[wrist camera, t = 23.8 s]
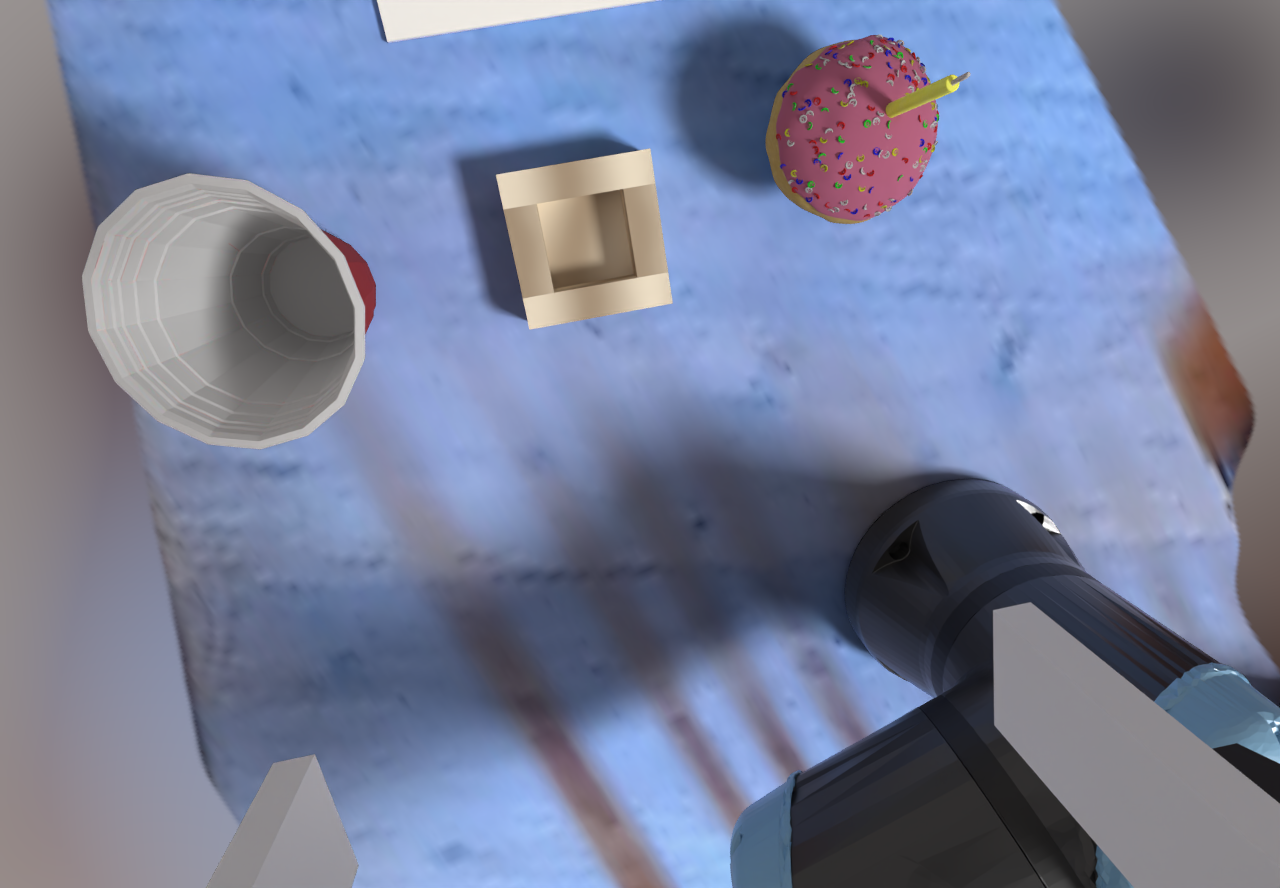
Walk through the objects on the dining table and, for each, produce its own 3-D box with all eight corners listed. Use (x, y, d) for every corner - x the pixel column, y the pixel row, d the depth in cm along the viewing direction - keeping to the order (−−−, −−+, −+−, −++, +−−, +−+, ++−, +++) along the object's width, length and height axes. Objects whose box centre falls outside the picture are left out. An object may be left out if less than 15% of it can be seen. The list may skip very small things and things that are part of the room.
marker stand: (644, 151, 38) (650, 148, 36) (665, 297, 41) (672, 303, 39) (499, 176, 38) (495, 174, 35) (530, 322, 40) (529, 329, 38)
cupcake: (823, 18, 37) (943, -62, 26) (923, 134, 40) (1070, 107, 28) (715, 148, 39) (783, 126, 27) (818, 252, 41) (918, 271, 30)
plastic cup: (227, 152, 36) (79, 128, 25) (438, 219, 38) (392, 226, 27) (199, 352, 39) (56, 413, 28) (397, 404, 41) (339, 479, 30)
